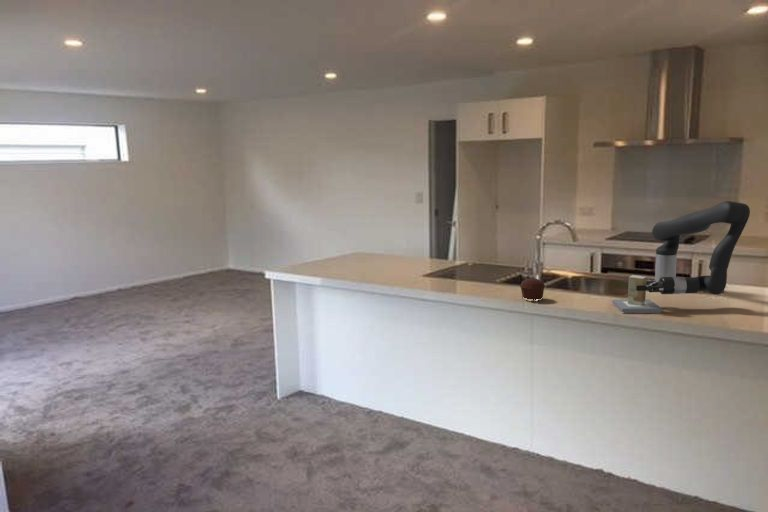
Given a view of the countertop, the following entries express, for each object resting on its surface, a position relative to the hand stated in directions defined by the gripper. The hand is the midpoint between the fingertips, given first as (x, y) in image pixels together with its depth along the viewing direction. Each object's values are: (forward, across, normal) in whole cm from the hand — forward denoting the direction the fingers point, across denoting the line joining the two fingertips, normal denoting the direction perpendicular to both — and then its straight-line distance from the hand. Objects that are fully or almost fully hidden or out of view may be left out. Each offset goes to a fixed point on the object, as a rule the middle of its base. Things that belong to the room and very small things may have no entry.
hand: (633, 286), depth 253 cm
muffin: (+41, -18, +10) cm, 46 cm away
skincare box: (-2, 0, +8) cm, 8 cm away
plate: (-1, 0, +10) cm, 10 cm away
